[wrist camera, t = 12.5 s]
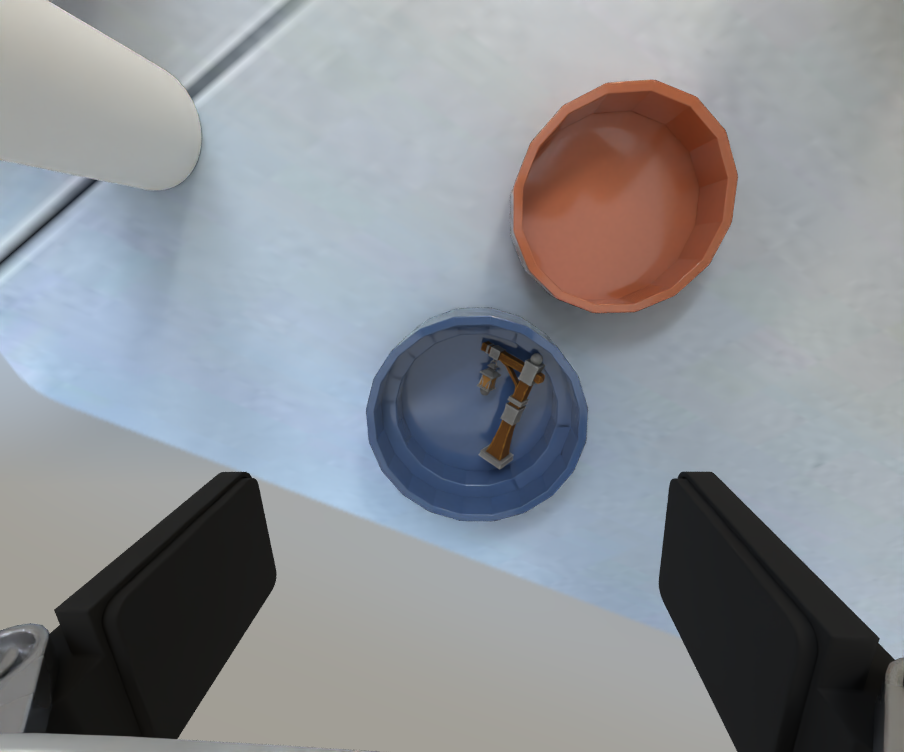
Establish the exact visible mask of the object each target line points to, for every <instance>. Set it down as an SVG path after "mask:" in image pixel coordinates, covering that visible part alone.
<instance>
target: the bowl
mask: <svg viewBox="0 0 904 752" xmlns="http://www.w3.org/2000/svg"><path fill="white" fill-rule="evenodd" d="M487 341H489V342H491V343H493V344H494V345H495V346H496V345H499V346H500V347H502V348H504V349H506V352H508V353H509V354H511V355H513V356H515V357H516V358H518V359H520V360H522V361H523V362H525V360H528V359H530V358H531V356H532V355H533V354H535V353H539V354H540V355H541V356H542V357H543V361H542V363H543V364H544V365H545V367H544V368H543V370H542V372H541V373H543V374H544V375H545V379H544V382H542V383H539V384H537V383H536V384H534V385H533V386H532V389H531V391H530V393H529V395H528V397H527V399H529V401H528V404H526V405H524V406H525V407H526V408H525V409H524V411H523V413H522V415H521V417H520V421H519V422H518V423H516V425H515V428H514V431H513V435H512V440H511V444H510V450H509V452H510V453H512V454H513V455H514V456H513V460H512V461H511V462H509V463H508V464H507V465H505V466H504V467H503V468H501V469H500V470H499V469H498V468H497V467H495V466H494V465H492V464H491V463H489V462H488V461H486V460H485V459H483V458H482V457H481V456H479V455H478V454H480V452H481V451H480V450H482V449H484V448H485V447H487V446H488V445H490V444H491V442H492V440H493V438H494V436H495V434H496V432H497V431H498V429H499V426H500V424H501V421H502V419H500V417H501V416H502V414H503V412H504V409H505V406H506V403H508V402H510V401H508V398H509V396H511V395H513V393H514V390H515V384H514V382H513V380H512V378H511V376H510V374H509V372H508V370H507V368H506V366H505V365H504V364H503V363H502V362H501V361H500V360H498V361H496V362H497V366H498V367H499V368H496V369H497V370H495V371H496V372H498V373H499V374H501V376H500V377H498V378H497V379H496V383H495V389H494V390H492V391H490V392H489V394H488V395H482V394H481V392H480V389H481V388H480V387H478V386H477V384H479V382H480V379H481V377H482V373H480V371H481V370H484V369H487V368H488V367H489V366H487V365H488V364H490V363H491V361H492V360H493V358H492V357H490V356H489V354H488V353H485V352H484V351H482V350H481V347H482V343H483V342H487ZM494 360H495V359H494ZM492 363H493V362H492ZM494 364H496V363H494ZM513 370H514V372H515V374H516V376H517V378H518V377H519V376H520V374H521V373H520V372H519V371H517V370H515V369H513ZM518 380H519V379H518ZM519 381H520V380H519ZM587 408H588V407H587V404H586V400H585V397H584V393H583V390H582V387H581V383H580V380H579V377H578V375H577V373H576V372H575V371H574V369H573V368H572V367H571V365H570V364H569V362H568V361H567V360H566V358H565V357H564V356H563V354H562V353H561V352H560V350H559V349H558V347H557V346H556V345H555V344H554V343H553V341H552V340H551V339H550V338H549V337H548V336H547V335H546V334H545V333H544V332H542V331H541V330H540V329H538V328H537V327H535V326H534V325H532V324H531V323H530V322H528V321H527V320H525V319H524V318H522V317H520V316H518V315H514V314H511V313H508V312H504V311H501V310H498V309H494V308H489V307H484V308H459V309H454V310H452V311H449V312H446V313H443V314H441V315H438V316H435V317H432V318H430V319H428V320H426V321H425V322H424V323H422V324H421V325H420V326H419V327H417V328H416V329H415V330H414V331H412V332H411V333H410V334H409V335H407V336H406V337H405V338H404V339H403V340H402V341H401V342H400V343H399V344H398V345H397V346H396V347H395V348H394V349H393V350H392V351H391V352H390V354H389V356H388V357H387V359H386V360H385V362H384V363H383V365H382V366H381V368H380V370H379V371H378V373H377V374H376V376H375V377H374V379H373V383H372V387H371V391H370V395H369V400H368V404H367V408H366V416H367V427H368V437H369V443H370V445H371V448H372V450H373V452H374V454H375V457H376V459H377V461H378V463H379V466H380V468H381V470H382V472H383V473H384V474H385V475H386V476H387V477H388V479H389V480H390V481H391V482H392V483H393V484H394V485H395V487H396V488H397V489H398V490H399V491H400V492H401V493H402V494H403V495H404V496H405V497H407V498H409V499H410V500H412V501H413V502H415V503H417V504H418V505H420V506H421V507H423V508H425V509H426V510H428V511H430V512H432V513H436V514H439V515H442V516H446V517H449V518H453V519H456V520H459V521H496V520H500V519H504V518H508V517H511V516H515V515H519V514H523V513H524V512H527V511H529V510H530V509H532V508H534V507H535V506H537V505H538V504H540V503H542V502H543V501H545V500H547V499H548V498H550V497H551V496H553V495H554V493H555V492H556V491H557V490H558V489H559V488H560V487H561V485H562V484H563V483H564V482H565V481H566V480H567V479H568V477H569V476H570V475H571V474H572V473H573V471H574V469H575V467H576V465H577V462H578V460H579V457H580V455H581V453H582V450H583V448H584V445H585V443H586V435H587V417H588V409H587Z"/></svg>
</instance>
